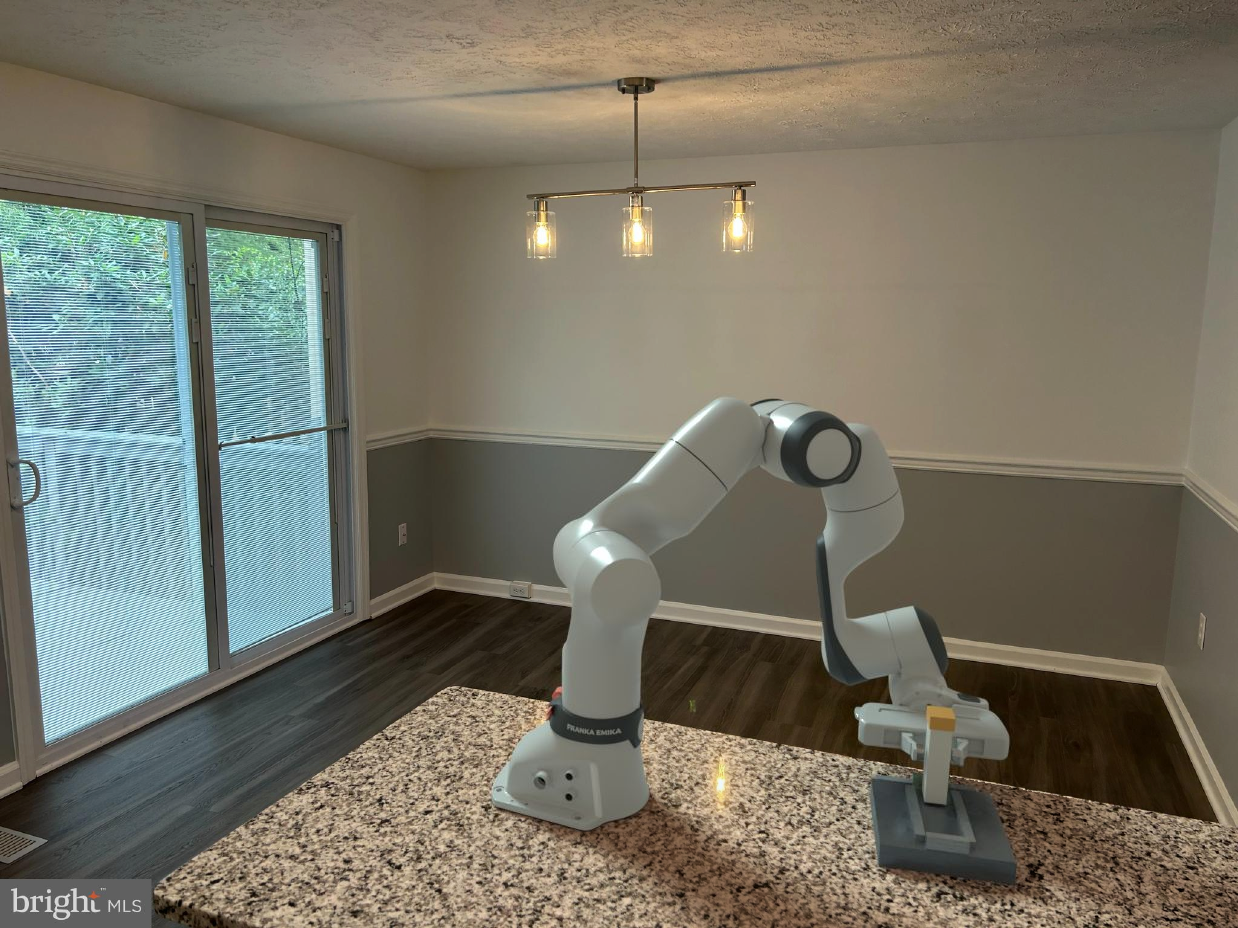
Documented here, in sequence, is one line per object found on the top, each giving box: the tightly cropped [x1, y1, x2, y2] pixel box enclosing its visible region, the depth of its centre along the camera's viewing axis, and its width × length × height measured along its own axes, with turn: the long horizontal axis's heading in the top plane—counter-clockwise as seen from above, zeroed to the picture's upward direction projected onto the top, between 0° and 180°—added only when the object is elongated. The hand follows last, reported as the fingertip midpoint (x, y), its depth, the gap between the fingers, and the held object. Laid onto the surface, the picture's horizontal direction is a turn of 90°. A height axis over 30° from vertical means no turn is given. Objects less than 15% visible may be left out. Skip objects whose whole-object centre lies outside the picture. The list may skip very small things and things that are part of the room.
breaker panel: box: [869, 772, 1018, 886], centre depth 115 cm, size 16×16×5 cm
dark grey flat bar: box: [874, 774, 978, 791], centre depth 125 cm, size 14×4×1 cm, turn 78°
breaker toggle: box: [922, 705, 956, 805], centre depth 118 cm, size 3×3×12 cm
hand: (938, 758), depth 117 cm, fingers open, 4 cm apart
